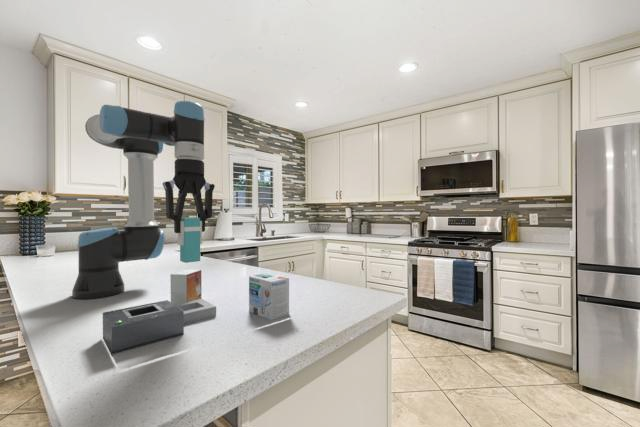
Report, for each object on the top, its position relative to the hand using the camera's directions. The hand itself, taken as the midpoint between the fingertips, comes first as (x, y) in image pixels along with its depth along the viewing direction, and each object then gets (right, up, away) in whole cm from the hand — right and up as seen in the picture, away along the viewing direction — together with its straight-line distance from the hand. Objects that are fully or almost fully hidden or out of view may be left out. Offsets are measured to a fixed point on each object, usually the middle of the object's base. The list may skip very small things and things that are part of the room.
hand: (190, 244), depth 83 cm
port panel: (-5, -20, -13) cm, 25 cm away
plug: (0, -5, 0) cm, 5 cm away
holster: (0, -20, 0) cm, 20 cm away
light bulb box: (+22, -20, +2) cm, 30 cm away
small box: (-6, -20, +11) cm, 24 cm away
